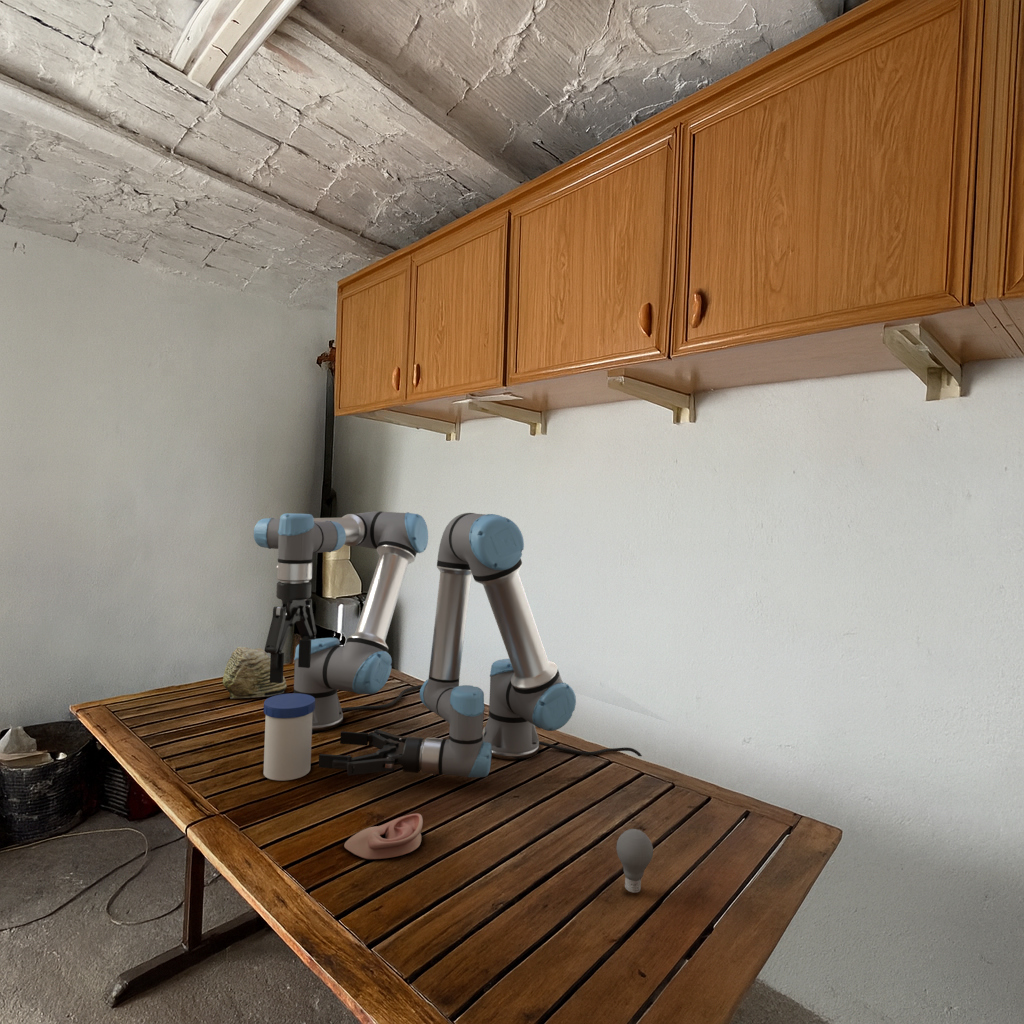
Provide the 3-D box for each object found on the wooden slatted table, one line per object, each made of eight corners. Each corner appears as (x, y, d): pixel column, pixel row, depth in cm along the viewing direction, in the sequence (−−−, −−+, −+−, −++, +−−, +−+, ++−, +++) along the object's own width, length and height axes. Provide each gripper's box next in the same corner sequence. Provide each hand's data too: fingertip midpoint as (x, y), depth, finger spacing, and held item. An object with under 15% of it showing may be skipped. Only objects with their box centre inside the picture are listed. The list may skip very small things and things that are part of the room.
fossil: (218, 695, 195) (220, 647, 195) (278, 685, 208) (279, 640, 207) (228, 703, 189) (230, 653, 188) (289, 692, 201) (290, 645, 201)
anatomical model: (336, 832, 112) (364, 802, 124) (336, 854, 112) (363, 822, 124) (407, 843, 110) (429, 812, 121) (406, 866, 110) (428, 832, 121)
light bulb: (610, 879, 108) (613, 822, 108) (644, 879, 109) (647, 822, 109) (619, 902, 102) (622, 840, 102) (655, 901, 103) (658, 840, 103)
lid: (280, 700, 152) (280, 691, 152) (323, 704, 150) (323, 695, 150) (253, 715, 141) (253, 705, 141) (299, 720, 139) (300, 710, 139)
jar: (278, 759, 151) (281, 693, 151) (318, 764, 150) (320, 698, 149) (254, 777, 141) (256, 707, 141) (296, 783, 140) (298, 712, 139)
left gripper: (304, 574, 157) (300, 660, 158) (249, 586, 133) (245, 688, 133) (332, 576, 156) (329, 662, 157) (282, 589, 132) (278, 691, 132)
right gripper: (408, 797, 130) (308, 789, 132) (432, 750, 155) (348, 743, 157) (410, 761, 130) (309, 753, 132) (434, 719, 155) (349, 713, 157)
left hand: (290, 674), depth 145 cm, fingers open, 12 cm apart
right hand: (330, 748), depth 144 cm, fingers open, 13 cm apart
